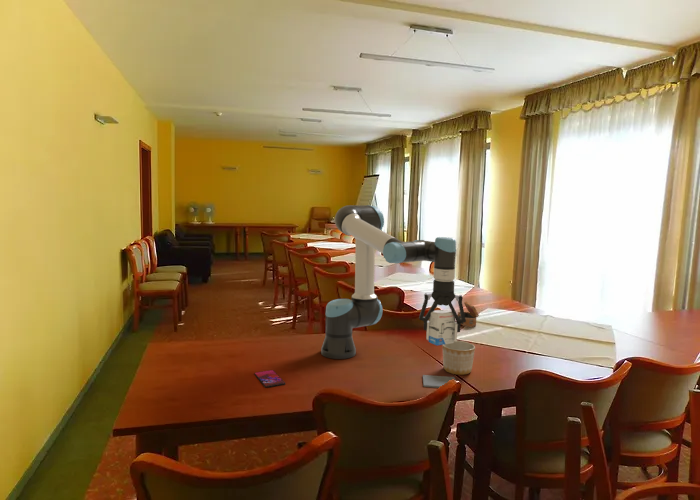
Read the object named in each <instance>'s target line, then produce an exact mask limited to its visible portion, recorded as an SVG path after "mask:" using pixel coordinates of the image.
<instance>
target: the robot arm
mask: <svg viewBox="0 0 700 500" xmlns="http://www.w3.org/2000/svg"><path fill="white" fill-rule="evenodd" d="M334 224H335V227H336V228H337V229H338V231H339V232H341V233H342V234H344V235H346V236H352V237H353V238H354V240H355V250H354V251H355V253H354V254H355V256H354V257H355V261H354V262H355V265H354V266H355V267H354V268H355V270H354V272H355V273H354V293H353V294H352V295H351V299H349V298H337V299H332V300H331V301H329V302H327V304H326V306H325V337H324V340H323V342H322V346H321V349H320V350H321V351H320V353H321V355H322V356H323V357H324V358H328V359H334V360H346V359H350V358H353V357H355V356H356V353H357V349H356V345H355V341H354V338H353V329H356V328H361V327H367V326H368V327H369V326H373V325H376V324H377V323H378V322H380V321H381V318H382V316H383V312H384V311H383V305H382V303H381V300H380V299H378V296H377V294H376V293H375V257H376V255H375V253H376V251H377V252H379V253H381V254H382V256H383V258H384V260H385V261H386V262H387V263H389V264H401V263H402V264H403V263H414V262H431V263H433V279H434V280H433V282H432V283H433V284H432V285H433V286H432V292H431V293H427V292H425V293H424V294H423V296H424V297H423V298H424V299H423V303H422V306H421V311H420V313H419V316H418V319H419V320H420V321H422V322H423V330H424V331H426V336H425V337H426V340H427V341H429V318H430V316H431V312H433V311H435V310H436V308H437V307H438V306H445V307H446V306H448V307H449V310H450V311H452V313H453V315H454V317H455V332H454V341H455V342H457V341H458V333H461V325H462V324H461V323H463V322H464V323H465V322H466V319H465V314H464V312H465V310H464V306H463V299H464V297H463V294H455V281H454V280H455V275H456V257H457V256H456V255H457V241H456V238H454V237H448V236H447V237H444V236H439V237H435V240H434V241H431V240H430V241H429V240H425V239H415V240H413V241H402V240H401V239H398V238H396V237H394V236H392V234H389V233H387V232H386V231H384V230H383V228H384V226H385V218H384V214H383V212H382V211H381V209H380V208H379V207H378V206H375V205H368V204H367V205H364V204H363V205H362V204H361V205H355V204H354V205H352V204H350V205H345V206H342V207H341V208H339V209H338V210H337V212H336V213H335V216H334ZM431 298H432V299H433V302H432V305H431V306H430V307H429V310H427V306H428V302H429V300H430V299H431ZM453 300H456V301H457V303H458V308H459V312H460V313H461V318H462V319H459V317H458V312H457V311H456V310H455V307H454V305H453V304H452V303H453ZM426 310H427V312H426ZM425 313H426V314H425ZM424 315H425V316H424Z"/></svg>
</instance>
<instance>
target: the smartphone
mask: <svg viewBox="0 0 700 500" xmlns="http://www.w3.org/2000/svg"><path fill="white" fill-rule="evenodd" d="M254 375H255V377H256V378H257V380H258V381H259V382H260V383H261V384H262V385H263V387H264V388H265V389H270V388H274V387H281V386H285V385H286V382H285V381H284V380H283V378H281V377H280V375H279V374H278V373H277V372H275V370H272V369H270V370H266V371H265V370H264V371H258V372H254Z"/></svg>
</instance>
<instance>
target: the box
mask: <svg viewBox="0 0 700 500" xmlns="http://www.w3.org/2000/svg"><path fill="white" fill-rule="evenodd" d="M463 304H464V305H465V308H466V310H467V311H464V314H465V319H466V322H465V323H464V322H463V323H461V325H462V326H463V327H465V328H476V327H477V318H478V317H479V315H480V314H479V312H478V310H477V309H476V307H475V306H474V305H472V304H470V303H469V302H468V301H465V302H464V303H463ZM457 315H458V317H459V319H462V318H461V313H460V311H458V312H457Z"/></svg>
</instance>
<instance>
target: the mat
mask: <svg viewBox="0 0 700 500" xmlns="http://www.w3.org/2000/svg"><path fill="white" fill-rule="evenodd" d="M452 379H454V380H455V381H456V377H455V376H443V375H442V376H441V375H431V374H423V375H422V382H423V385H422V386H423V387H424V388H437V389H440V388H439V387H440V386H442V385H444V384H445V383H447V382H448V381H449V380H452Z"/></svg>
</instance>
